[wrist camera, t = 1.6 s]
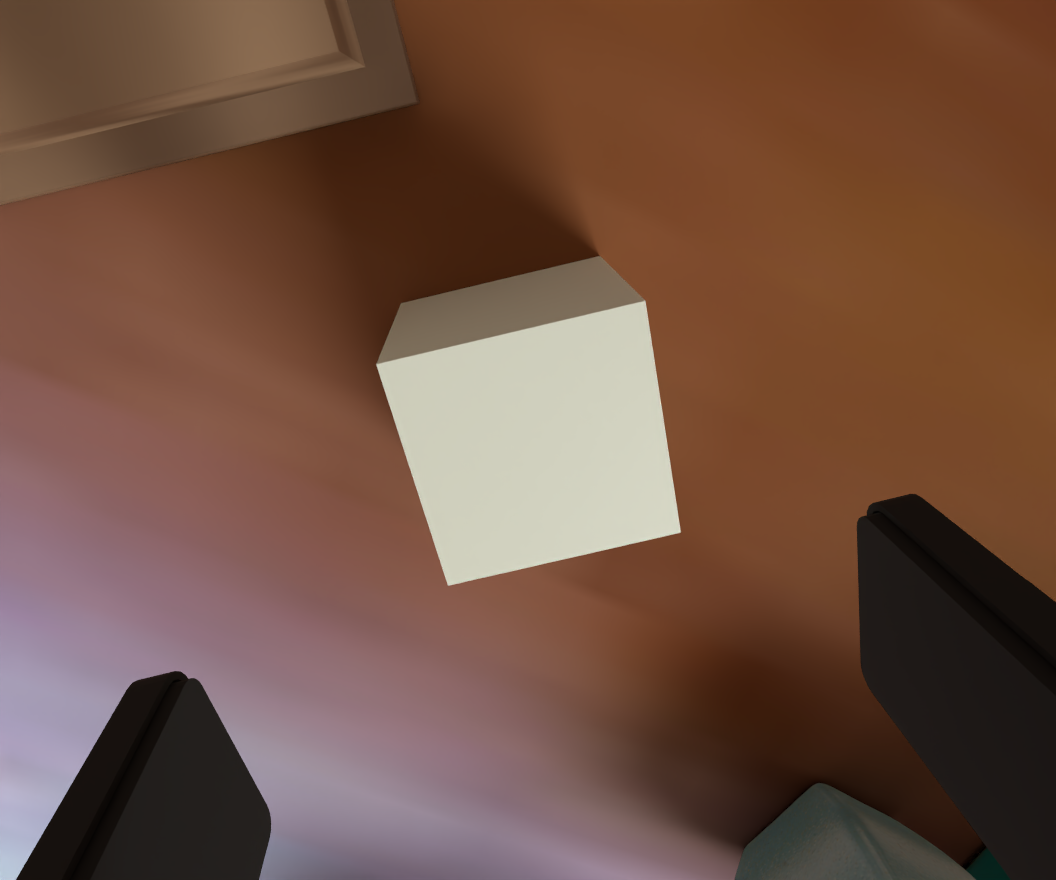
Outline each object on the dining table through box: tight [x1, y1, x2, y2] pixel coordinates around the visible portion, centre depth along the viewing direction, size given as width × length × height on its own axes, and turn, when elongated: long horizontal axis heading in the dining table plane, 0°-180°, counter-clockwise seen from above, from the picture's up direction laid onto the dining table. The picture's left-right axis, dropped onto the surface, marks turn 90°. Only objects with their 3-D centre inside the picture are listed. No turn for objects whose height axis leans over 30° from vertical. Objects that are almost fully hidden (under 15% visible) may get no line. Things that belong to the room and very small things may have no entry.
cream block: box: [376, 256, 681, 586], centre depth 19 cm, size 6×6×6 cm
